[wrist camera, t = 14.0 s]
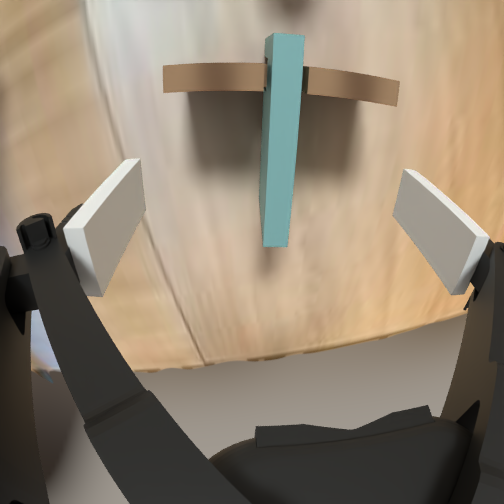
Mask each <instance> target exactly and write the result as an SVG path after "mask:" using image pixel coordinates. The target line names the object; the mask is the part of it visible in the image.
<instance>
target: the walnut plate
mask: <svg viewBox="0 0 504 504" xmlns="http://www.w3.org/2000/svg"><path fill="white" fill-rule="evenodd" d="M399 84H400V81H396V80H391V79H386V78H381V77H376V76H371V75H365V74H360V73H354V72H347V71H340V70H333V69H325V68H317V67H307V66H303V72H302V88H301V91H303V92H304V93H306V94H312V95H322V96H331V97H339V98H347V99H354V100H361V101H368V102H374V103H380V104H385V105H391V106H396V107H397V101H398V93H399ZM264 87H267V64H265V63H196V64H178V65H165V66H163V93H170V92H188V91H264Z"/></svg>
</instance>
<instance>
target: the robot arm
mask: <svg viewBox="0 0 504 504" xmlns="http://www.w3.org/2000/svg"><path fill="white" fill-rule="evenodd" d="M145 211H146V206H145V197H144V189H143V180H142V170H141V160H140V159H126V160H125V161H124V162H123V163H122V164H121V165H120V166H119V167H118V168H117V169H116V170H115V171H114V172H113V173H112V174H111V175H110V176H109V177H108V178H107V179H106V180H105V181H104V182H103V183H102V184H101V185H100V186H99V188H98V189H97V190H96V191H95V192H94V193H93V194H92V195H91V196H90V197H89V199H88V200H87V201H86V202H85V203H84V204H80V205H78V206H77V207H75V208H74V209H72V210H71V211H70V212H69V213H68V215H67V216H66V217H65V218H64V219H63V220H62V223H60V224H59V225H58V226H57V227H56V229H55V227H54V223H53V219H52V216H51V215H50V214H48V213H40V214H36V215H32V216H30V217H28V218H26V219H24V220H23V221H22V222H20V224H19V225H18V226H17V229H16V231H17V234H18V237H19V240H20V243H21V246H22V248H23V251H24V254H22V255H17V256H13V257H9V254H8V252H7V249H6V248H5V247H4V246H0V504H49V499H48V494H47V489H46V484H45V479H44V475H43V470H42V465H41V460H40V454H39V448H38V442H37V435H36V428H35V419H34V410H33V398H32V384H31V352H30V342H31V311H32V310H37V309H39V312H40V315H41V318H42V321H43V324H44V327H45V330H46V333H47V335H48V338H49V341H50V344H51V346H52V349H53V352H54V354H55V357H56V359H57V362H58V364H59V367H60V369H61V372H62V374H63V376H64V379H65V381H66V383H67V385H68V388H69V390H70V392H71V394H72V397H73V399H74V401H75V403H76V405H77V407H78V409H79V411H80V413H81V415H82V417H83V419H84V421H85V424H84V428H85V431H86V433H87V435H88V437H89V439H90V441H91V443H92V445H93V446H94V448H95V450H96V452H97V454H98V455H99V457H100V459H101V460H102V462H103V464H104V465H105V467H106V469H107V470H108V472H109V473H110V475H111V477H112V478H113V480H114V481H115V483H116V484H117V486H118V487H119V489H120V490H121V492H122V493H123V495H124V496H125V498H126V499H127V501H128V502H129V503H130V504H504V243H502V242H496V243H495V244H494V243H493V242H492V241H491V240H490V239H489V238H490V237H489V236H488V235H487V234H486V233H485V232H484V231H483V230H482V229H481V228H480V227H479V226H478V225H477V224H476V223H475V222H474V221H473V220H472V219H471V218H470V217H469V216H468V215H467V214H466V213H465V212H464V211H462V210H461V209H460V208H459V207H458V206H457V205H456V204H455V203H454V202H453V201H451V200H450V199H449V198H448V197H447V196H446V195H445V194H443V193H442V192H441V191H440V190H439V189H438V188H436V187H435V186H434V185H433V184H432V183H430V182H429V181H428V180H427V179H426V178H424V177H423V176H422V175H421V174H419V173H418V172H417V171H416V170H409V169H403V173H402V178H401V182H400V187H399V191H398V195H397V200H396V204H395V208H394V212H393V217H394V218H395V219H396V220H397V222H398V223H399V224H400V225H401V227H402V228H403V229H404V230H405V232H406V233H407V234H408V236H409V237H410V238H411V240H412V241H413V242H414V244H415V245H416V246H417V248H418V249H419V250H420V252H421V253H422V254H423V256H424V257H425V258H426V260H427V261H428V262H429V264H430V265H431V267H432V268H433V269H434V271H435V272H436V274H437V275H438V277H439V278H440V280H441V281H442V282H443V284H444V285H445V287H446V288H447V290H448V291H449V293H450V294H451V295H460V294H465V292H466V290H467V288H468V286H469V283H470V282H471V283H472V285H473V286H474V287H475V288H474V290H473V292H472V294H471V296H470V298H469V300H468V302H467V304H466V305H465V307H464V309H463V310H466V309H467V308H468V314H467V319H466V325H465V330H464V334H463V339H462V343H461V348H460V352H459V356H458V360H457V364H456V368H455V372H454V375H453V378H452V382H451V386H450V389H449V392H448V395H447V398H446V401H445V405H444V407H443V410H442V413H441V416H440V417H434V416H432V415H431V412H430V409H429V407H428V405H426V406H421V407H417V408H412V409H408V410H403V411H398V412H393V413H391V414H389V415H386V416H384V417H382V418H380V419H378V420H375V421H374V422H371V423H369V424H366V425H364V426H362V427H359V428H357V429H353V430H347V429H337V428H328V427H321V426H313V425H306V424H300V425H282V426H256V430H255V438H252V439H249V440H245V441H242V442H239V443H237V444H233V445H232V446H230V447H227V448H225V449H223V450H221V451H220V452H218V453H217V454H215V455H214V456H212V457H211V458H210V459H209V460H208V459H207V458H206V457H205V456H204V455H203V454H202V452H201V451H200V450H199V449H198V448H197V447H196V446H195V444H194V443H193V442H192V441H191V440H190V439H189V438H188V436H187V435H186V434H185V433H184V432H183V430H182V429H181V428H180V427H179V426H178V425H177V423H176V422H175V421H174V419H173V418H172V417H171V416H170V414H169V413H168V412H167V411H166V409H165V408H164V407H163V406H162V404H161V403H160V402H159V401H158V399H157V398H156V397H155V395H154V394H153V393H152V392H151V391H149V390H148V391H147V390H146V389H145V388H144V387H143V386H142V384H141V383H140V382H139V380H138V379H137V377H136V376H135V374H134V373H133V371H132V370H131V368H130V367H129V365H128V364H127V362H126V361H125V359H124V358H123V356H122V355H121V353H120V352H119V350H118V349H117V347H116V345H115V344H114V342H113V341H112V339H111V337H110V336H109V334H108V332H107V331H106V329H105V328H104V326H103V324H102V322H101V321H100V319H99V317H98V316H97V314H96V312H95V310H94V309H93V307H92V305H91V303H90V301H89V300H88V298H87V296H95V297H103V295H104V293H105V291H106V289H107V286H108V284H109V282H110V280H111V278H112V276H113V274H114V271H115V269H116V267H117V265H118V263H119V261H120V259H121V257H122V255H123V253H124V251H125V249H126V247H127V245H128V243H129V241H130V239H131V237H132V235H133V233H134V231H135V229H136V227H137V226H138V224H139V222H140V220H141V218H142V216H143V214H144V212H145Z"/></svg>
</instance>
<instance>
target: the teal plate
mask: <svg viewBox="0 0 504 504" xmlns="http://www.w3.org/2000/svg"><path fill="white" fill-rule="evenodd" d="M304 38H305V36H304V35H294V34H281V33H273V34H272V35H270V36H269V37H267V38H266V39H265V57H267V58H268V63H267V87H264V91H263V115H262V139H261V163H260V187H259V203H260V215H261V227H262V239H263V247H287V245H288V235H289V226H290V216H291V206H292V196H293V186H294V175H295V164H296V153H297V141H298V128H299V115H300V102H301V88H302V72H303V56H304Z"/></svg>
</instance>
